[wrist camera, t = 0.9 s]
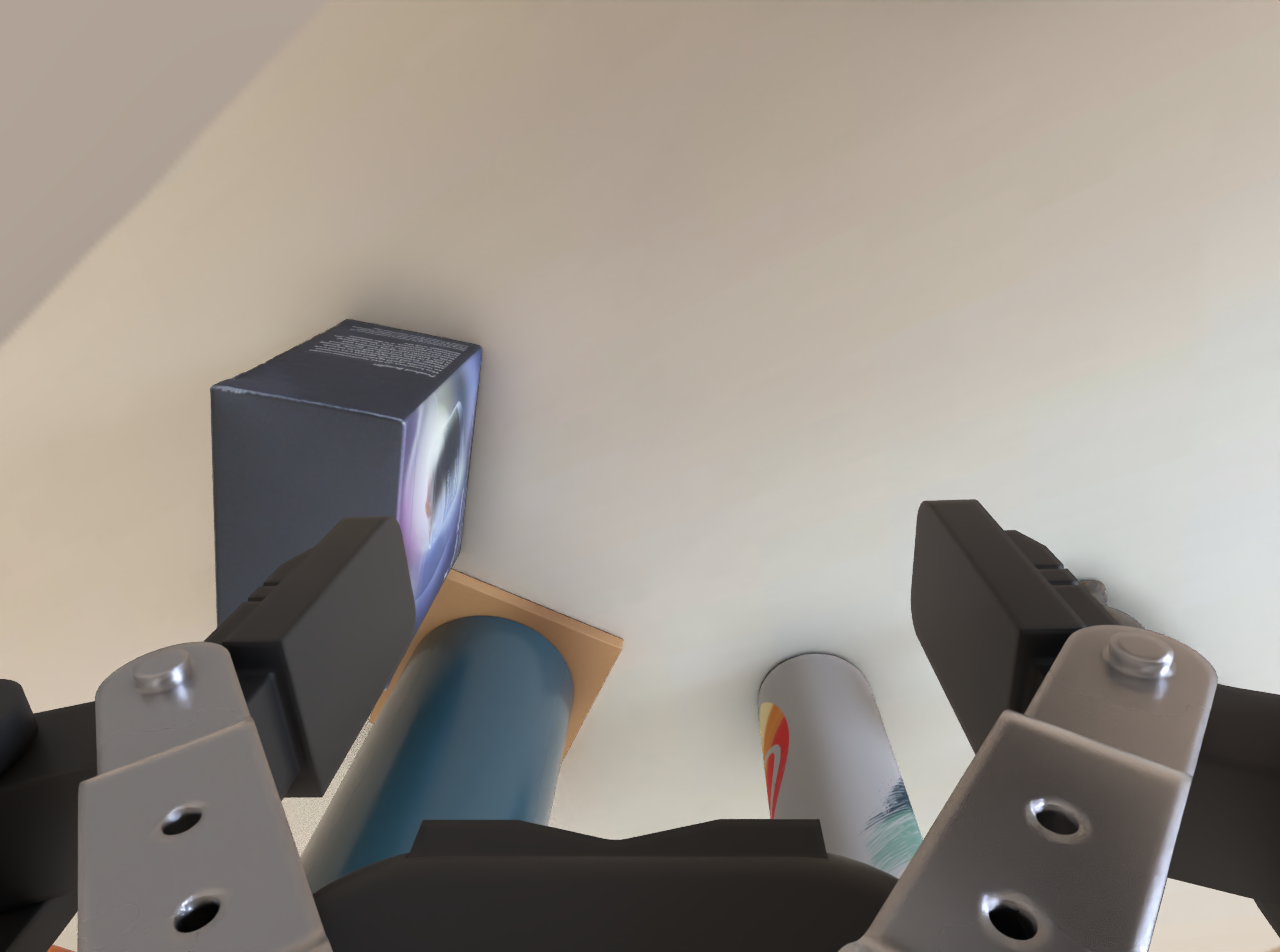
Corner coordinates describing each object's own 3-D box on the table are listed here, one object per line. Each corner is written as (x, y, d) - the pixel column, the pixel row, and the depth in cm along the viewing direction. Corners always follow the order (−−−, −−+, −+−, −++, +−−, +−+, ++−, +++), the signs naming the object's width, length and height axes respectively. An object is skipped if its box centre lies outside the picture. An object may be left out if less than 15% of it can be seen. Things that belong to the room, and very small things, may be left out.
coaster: (374, 711, 41) (368, 722, 40) (432, 560, 37) (427, 569, 37) (549, 779, 42) (547, 790, 41) (623, 639, 38) (622, 648, 38)
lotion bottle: (750, 738, 40) (802, 1233, 22) (762, 646, 38) (830, 1110, 20) (861, 746, 40) (1008, 1254, 22) (880, 654, 38) (1060, 1131, 19)
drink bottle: (326, 696, 40) (-109, 1352, 18) (375, 559, 37) (-85, 1159, 15) (540, 778, 41) (374, 1483, 19) (606, 653, 38) (494, 1332, 16)
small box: (469, 559, 37) (392, 702, 28) (333, 534, 37) (208, 669, 27) (492, 343, 33) (411, 423, 23) (339, 314, 33) (195, 382, 23)
